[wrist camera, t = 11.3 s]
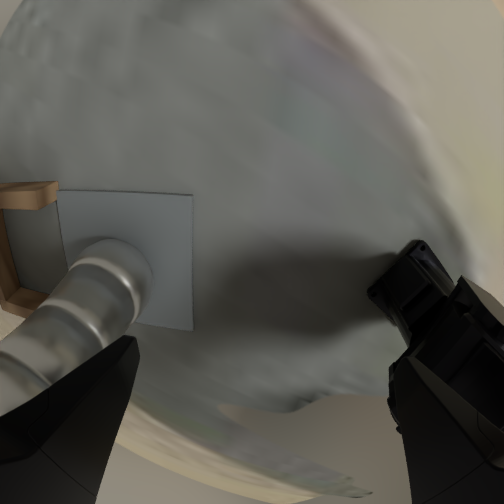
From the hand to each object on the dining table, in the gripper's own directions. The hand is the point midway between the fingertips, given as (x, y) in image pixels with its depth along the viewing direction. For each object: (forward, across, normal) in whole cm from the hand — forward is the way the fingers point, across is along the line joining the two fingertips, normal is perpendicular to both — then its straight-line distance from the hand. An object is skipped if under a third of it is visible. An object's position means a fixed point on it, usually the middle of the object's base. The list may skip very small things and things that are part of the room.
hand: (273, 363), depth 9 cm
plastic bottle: (+13, +11, +5) cm, 18 cm away
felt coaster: (+13, +12, +5) cm, 18 cm away
